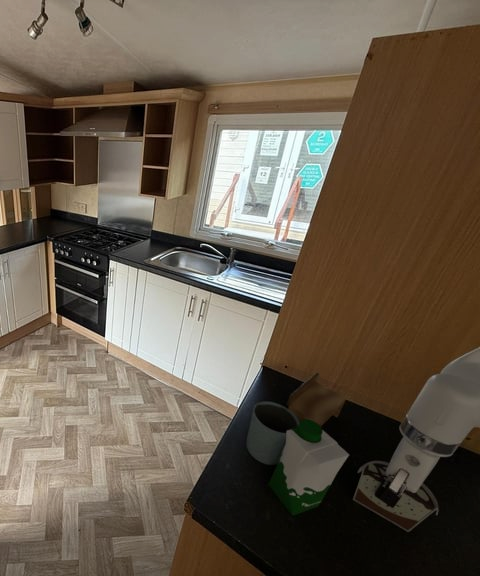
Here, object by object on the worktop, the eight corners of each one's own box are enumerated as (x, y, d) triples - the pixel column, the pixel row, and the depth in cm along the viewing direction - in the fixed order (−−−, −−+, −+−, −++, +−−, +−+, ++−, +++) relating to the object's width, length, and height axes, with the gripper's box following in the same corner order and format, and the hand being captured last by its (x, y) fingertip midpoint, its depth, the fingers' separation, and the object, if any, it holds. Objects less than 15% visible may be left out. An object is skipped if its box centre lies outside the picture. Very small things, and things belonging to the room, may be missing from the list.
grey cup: (237, 450, 81) (247, 418, 75) (249, 426, 88) (259, 394, 82) (280, 476, 75) (295, 442, 70) (290, 447, 82) (303, 414, 76)
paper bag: (338, 415, 91) (350, 390, 87) (313, 443, 83) (325, 416, 78) (306, 397, 98) (316, 372, 93) (280, 421, 89) (289, 395, 85)
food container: (418, 514, 67) (441, 485, 63) (418, 538, 63) (442, 509, 59) (348, 475, 75) (364, 447, 71) (344, 494, 71) (361, 466, 67)
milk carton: (291, 471, 76) (317, 413, 67) (325, 510, 68) (359, 450, 59) (261, 481, 74) (284, 422, 65) (292, 522, 66) (323, 461, 57)
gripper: (445, 475, 52) (399, 533, 60) (466, 425, 61) (424, 482, 69) (388, 442, 57) (353, 500, 65) (415, 401, 66) (381, 456, 74)
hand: (389, 490), depth 67 cm, fingers closed on food container, 6 cm apart
